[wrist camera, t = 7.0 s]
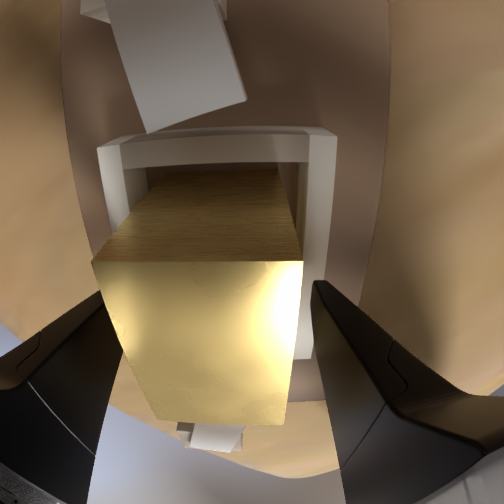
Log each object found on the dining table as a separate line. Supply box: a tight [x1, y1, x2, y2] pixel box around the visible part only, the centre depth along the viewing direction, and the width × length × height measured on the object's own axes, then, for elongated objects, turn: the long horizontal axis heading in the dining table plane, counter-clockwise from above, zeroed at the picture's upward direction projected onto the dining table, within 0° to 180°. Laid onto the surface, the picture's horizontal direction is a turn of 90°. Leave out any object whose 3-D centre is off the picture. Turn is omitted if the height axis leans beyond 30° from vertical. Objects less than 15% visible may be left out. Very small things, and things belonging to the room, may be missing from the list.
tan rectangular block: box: [91, 169, 303, 425], centre depth 9 cm, size 6×4×6 cm, turn 1°
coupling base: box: [61, 0, 390, 453], centre depth 11 cm, size 23×12×6 cm, turn 1°
